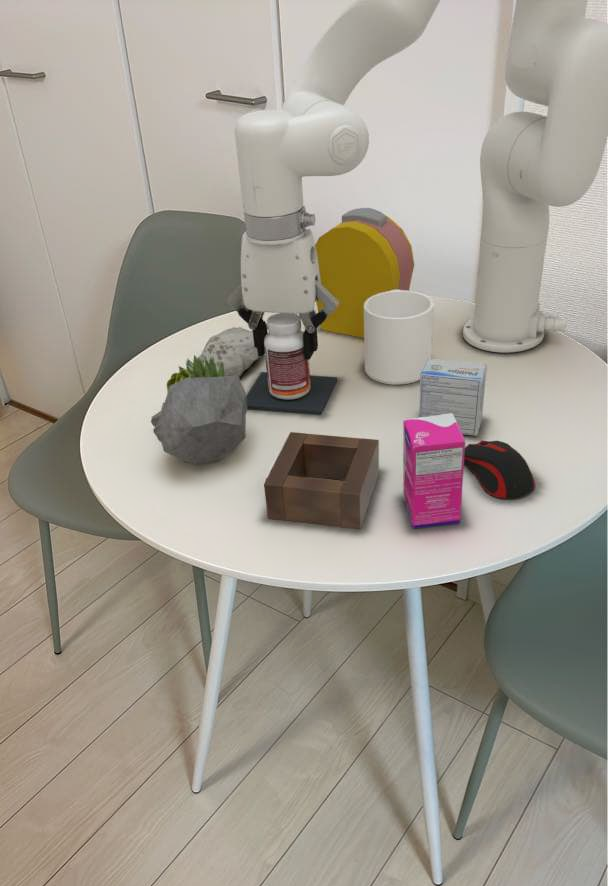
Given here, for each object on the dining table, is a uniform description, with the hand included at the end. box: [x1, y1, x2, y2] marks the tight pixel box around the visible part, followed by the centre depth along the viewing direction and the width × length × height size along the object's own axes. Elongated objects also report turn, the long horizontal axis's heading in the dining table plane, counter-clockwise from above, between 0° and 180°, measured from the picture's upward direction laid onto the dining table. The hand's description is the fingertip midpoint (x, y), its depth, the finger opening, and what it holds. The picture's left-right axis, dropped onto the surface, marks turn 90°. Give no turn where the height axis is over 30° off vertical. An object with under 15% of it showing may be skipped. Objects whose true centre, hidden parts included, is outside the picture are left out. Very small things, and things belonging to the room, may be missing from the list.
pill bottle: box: [264, 313, 311, 400], centre depth 107 cm, size 6×6×11 cm
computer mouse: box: [464, 440, 536, 500], centre depth 91 cm, size 6×11×4 cm, turn 20°
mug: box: [363, 289, 435, 386], centre depth 112 cm, size 13×10×10 cm
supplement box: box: [402, 413, 466, 529], centre depth 84 cm, size 6×6×12 cm
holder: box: [263, 431, 380, 530], centre depth 90 cm, size 11×11×5 cm
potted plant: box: [150, 354, 248, 466], centre depth 99 cm, size 12×13×15 cm
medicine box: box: [418, 358, 488, 437], centre depth 99 cm, size 8×4×9 cm, turn 71°
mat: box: [246, 371, 338, 416], centre depth 111 cm, size 12×10×1 cm
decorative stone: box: [198, 326, 261, 379], centre depth 117 cm, size 12×11×5 cm
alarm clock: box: [315, 207, 415, 339], centre depth 121 cm, size 15×8×18 cm, turn 59°
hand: (286, 352), depth 107 cm, fingers closed on pill bottle, 6 cm apart
